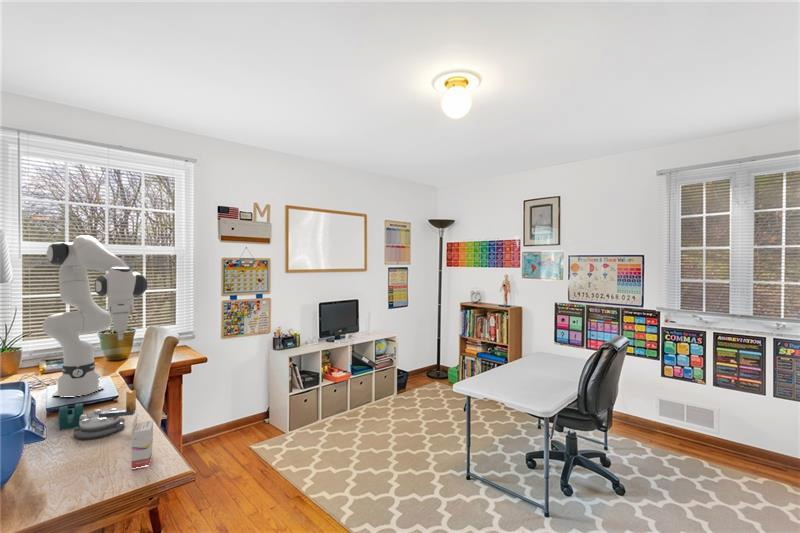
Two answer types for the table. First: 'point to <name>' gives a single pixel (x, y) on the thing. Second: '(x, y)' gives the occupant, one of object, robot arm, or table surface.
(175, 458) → the table surface
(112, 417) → the lugged valve handwheel
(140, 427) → the ink cartridge box
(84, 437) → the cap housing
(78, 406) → the bracket
